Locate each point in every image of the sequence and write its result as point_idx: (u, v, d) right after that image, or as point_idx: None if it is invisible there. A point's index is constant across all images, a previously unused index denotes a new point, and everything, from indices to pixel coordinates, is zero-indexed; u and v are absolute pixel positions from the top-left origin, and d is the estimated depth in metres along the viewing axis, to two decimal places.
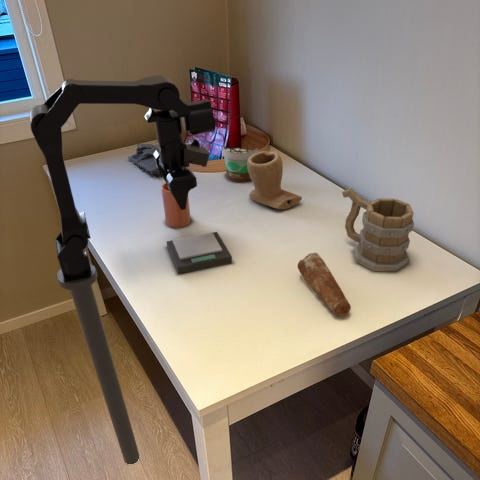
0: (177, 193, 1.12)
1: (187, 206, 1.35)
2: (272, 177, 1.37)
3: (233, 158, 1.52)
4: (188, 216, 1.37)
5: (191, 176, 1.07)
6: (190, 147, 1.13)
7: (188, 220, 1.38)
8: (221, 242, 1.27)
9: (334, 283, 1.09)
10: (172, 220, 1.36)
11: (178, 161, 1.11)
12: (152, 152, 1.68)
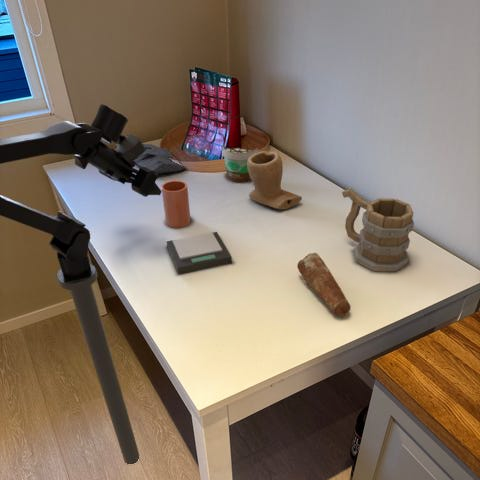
0: None
1: (187, 206, 1.35)
2: (272, 177, 1.37)
3: (233, 158, 1.52)
4: (188, 216, 1.37)
5: (148, 173, 1.14)
6: (122, 148, 1.16)
7: (188, 220, 1.38)
8: (221, 242, 1.27)
9: (333, 283, 1.09)
10: (172, 220, 1.36)
11: (127, 168, 1.16)
12: (152, 152, 1.68)
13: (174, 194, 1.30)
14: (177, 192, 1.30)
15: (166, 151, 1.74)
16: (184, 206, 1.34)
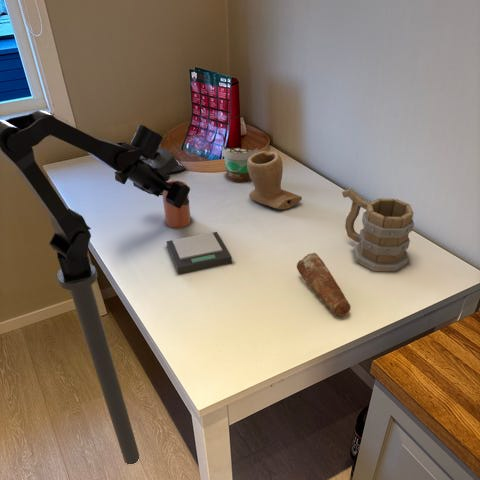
0: None
1: (187, 206, 1.35)
2: (272, 177, 1.37)
3: (233, 158, 1.52)
4: (188, 216, 1.37)
5: (182, 187, 1.23)
6: (157, 163, 1.25)
7: (188, 220, 1.38)
8: (221, 242, 1.27)
9: (333, 283, 1.09)
10: (172, 220, 1.36)
11: (161, 182, 1.25)
12: None
13: None
14: None
15: (166, 151, 1.74)
16: (184, 206, 1.34)
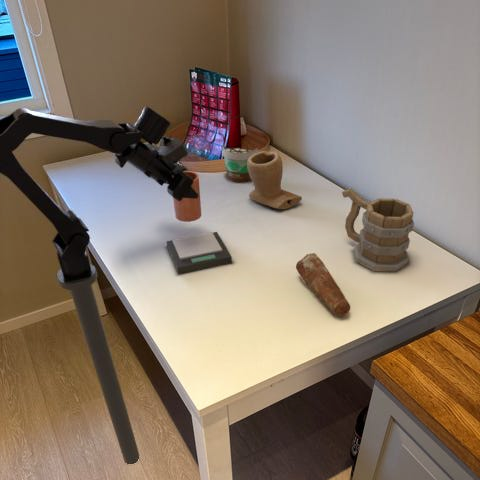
0: None
1: (196, 200, 1.26)
2: (272, 177, 1.37)
3: (233, 158, 1.52)
4: (197, 211, 1.28)
5: (183, 178, 1.14)
6: (165, 150, 1.17)
7: (197, 215, 1.28)
8: (221, 242, 1.27)
9: (333, 283, 1.09)
10: (179, 213, 1.27)
11: (166, 170, 1.17)
12: None
13: None
14: None
15: None
16: (193, 199, 1.25)
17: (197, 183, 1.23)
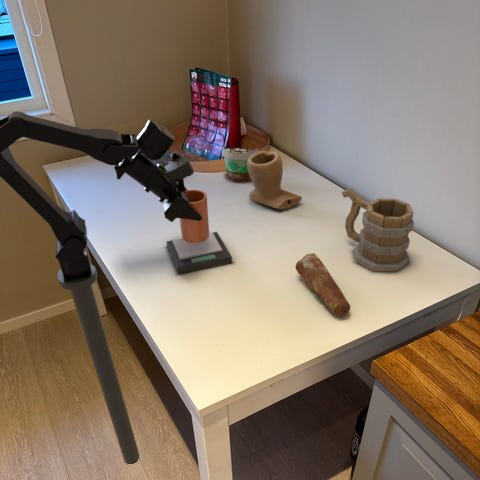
0: (182, 213, 1.13)
1: (201, 222, 1.18)
2: (272, 177, 1.37)
3: (233, 158, 1.52)
4: (201, 233, 1.20)
5: (176, 199, 1.07)
6: (170, 166, 1.11)
7: (201, 238, 1.21)
8: (221, 242, 1.27)
9: (333, 284, 1.09)
10: (183, 232, 1.21)
11: (166, 188, 1.11)
12: None
13: None
14: None
15: None
16: (196, 221, 1.17)
17: (202, 205, 1.16)
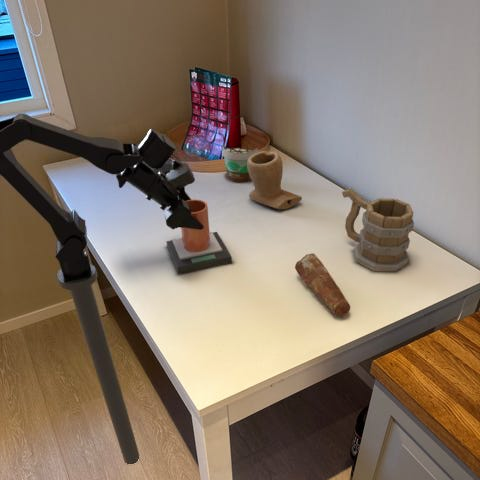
0: (184, 223, 1.14)
1: (202, 232, 1.20)
2: (272, 177, 1.37)
3: (233, 158, 1.52)
4: (202, 242, 1.22)
5: (178, 207, 1.08)
6: (171, 175, 1.12)
7: (202, 247, 1.22)
8: (221, 242, 1.27)
9: (332, 284, 1.09)
10: (184, 241, 1.22)
11: (167, 196, 1.12)
12: None
13: None
14: None
15: None
16: (197, 230, 1.19)
17: (203, 215, 1.17)
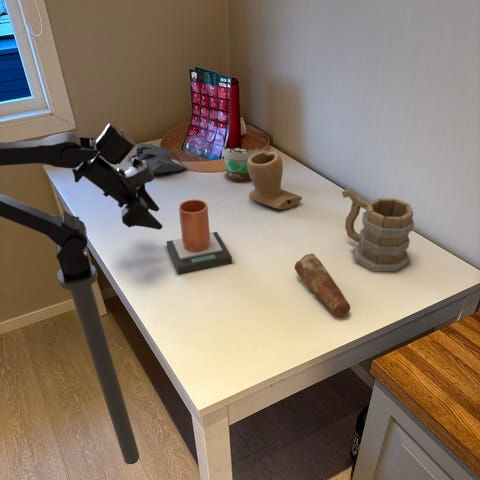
0: (141, 221, 1.11)
1: (202, 232, 1.20)
2: (272, 177, 1.37)
3: (233, 158, 1.52)
4: (202, 242, 1.22)
5: (134, 205, 1.05)
6: (130, 172, 1.10)
7: (202, 247, 1.22)
8: (221, 242, 1.27)
9: (332, 284, 1.09)
10: (184, 241, 1.22)
11: (125, 193, 1.10)
12: (152, 152, 1.68)
13: (185, 215, 1.16)
14: (188, 213, 1.16)
15: (166, 151, 1.74)
16: (197, 230, 1.19)
17: (203, 215, 1.17)
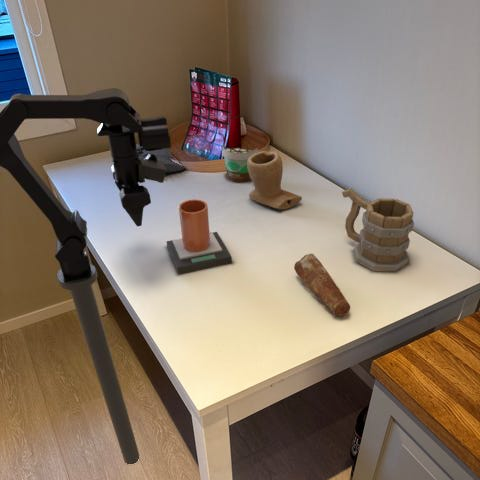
0: (131, 209, 1.08)
1: (202, 232, 1.20)
2: (272, 177, 1.37)
3: (233, 158, 1.52)
4: (202, 242, 1.22)
5: (144, 193, 1.04)
6: (146, 162, 1.09)
7: (202, 247, 1.22)
8: (221, 242, 1.27)
9: (332, 284, 1.09)
10: (184, 241, 1.22)
11: (133, 176, 1.07)
12: (152, 152, 1.68)
13: (185, 215, 1.16)
14: (188, 213, 1.16)
15: (166, 151, 1.74)
16: (197, 230, 1.19)
17: (203, 215, 1.17)
